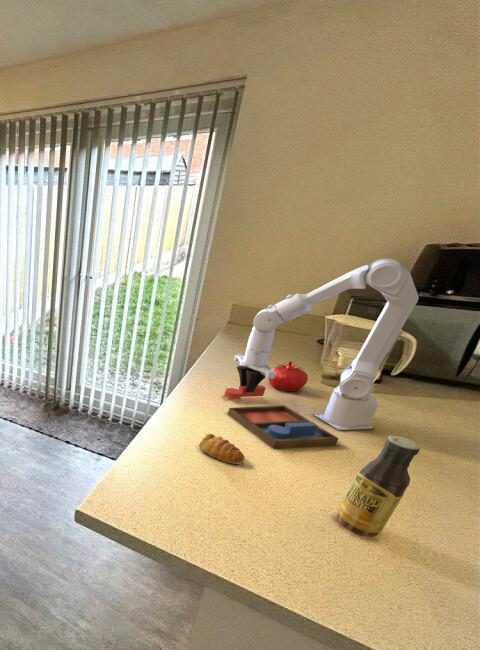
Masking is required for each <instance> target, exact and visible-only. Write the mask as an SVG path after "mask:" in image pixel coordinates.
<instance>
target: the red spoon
mask: <svg viewBox="0 0 480 650" xmlns="http://www.w3.org/2000/svg"><path fill="white" fill-rule="evenodd" d="M266 388H267V387H266V386H264V385H262V384H258V386H257V387H256V388H255V390H254V391H253V392H246V386H240V385H239V386H238V388H234V387H227V388H225V389H224V394H223V395H224V397H226V398H228V399H231V400H240V399H241V398H248V397H249V398H252V397H264V395H265V391H266Z"/></svg>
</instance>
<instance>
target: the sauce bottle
mask: <svg viewBox="0 0 480 650" xmlns="http://www.w3.org/2000/svg"><path fill="white" fill-rule="evenodd" d="M383 443H384V446H383V447H382V449H381V451H380V453H379V454H378V456H377V457H376V458H375V459H373V460H371V461H369V462H368V463H367V464H365V466H363V468H362V469H361V470H359V472H358V473H357V474H356V476H355V479H354V481H353V482H352V484H351V486H350V488H349V490H348V492H347V494H346V496H345V497H344V499H343V502H342V503H341V505H340V507H339V509H338V513H337V516H336V519H337V521H338V523H339V524H340V525H341V527H343V528H344V529H346V530H348V531H349V532H351V533H353V534H355V535H357V536H360V537H367V538H374V537H377V536H378V535H379V534H380V533H381V532H382V531H383V530H384V529H385V527H386V525H387V523H388V522H389V520H390V518H391V517H392V515H393V513H394V512H395V510H396V508H397V507H398V505H399V503H400V502H401V500H402V498H404V495H405V492H406V490H407V489H408V487H409V486H410V483H411V477H410V474H409V470H408V469H409V467H410V466H411V465H410V464H411V462H412V461H413V459H414V457H415V456H417V455H418V454H419V452H420V450H421V445H420V444H419V443H417V442H416V441H414V440H412V439H409V438H407V437H404V436H398V435H389V436H387V438H385V441H384V442H383Z"/></svg>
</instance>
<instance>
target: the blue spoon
mask: <svg viewBox="0 0 480 650" xmlns="http://www.w3.org/2000/svg"><path fill="white" fill-rule="evenodd" d="M318 426H319V425H318V424H316V423H315V422H313V421H311V422H300V423H286V424H285V427H282V426H279V425H270V426H269V428H268V431H267V433H268V434H269V435H270V436H272V437H273V438H276V439H287V438H288V436H308V435H315V432H316V429H317V427H318Z"/></svg>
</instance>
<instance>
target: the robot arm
mask: <svg viewBox="0 0 480 650" xmlns="http://www.w3.org/2000/svg"><path fill="white" fill-rule="evenodd" d="M367 285H369V286H370V287H371V288H373V289H374V290H376V291H377V292H379V293H381V295H382V296H383V298H384V299H385V300H386V303H385V304H384V307H383V309H382V310H381V312H380V314H379V316H378V317H377V320H376V321H375V323H374V325H373V327H372V328H371V330H370V332H369V334H368V336H367V338H366V339H365V342H364V343H363V345H362V346H361V348H360V350H359V352H358V354H357V356H356V357H355V358H354V359H353V360H352V362H351V363H350V365H349V366H347V367H346V368H344V369H343V370H342V371H341V372H340V375H339V379H340V382H339V385H338V386H335V387H334V388H333V391H332V392H331V396H330V399H329V401H328V403H327V406H326V409H325V411H324V413H315V414H314V417H316V418H318V419H319V420H321V421H323V422H324V423H326V424H328V425H330V426H331V427H333V428H334V429H336V430H338V431H350V430H351V431H352V430H353V431H354V430H371V429H373V426H372V425H371V423H372V420H373V418H374V416H375V414H376V412H377V409H378V407H379V404H378V403H379V402H378V400H377V398H376V397H375V396H374V395H373V394H372V393H373V391H374V381H375V378H376V377H377V374H378V371H379V368H380V366H381V364H382V362H383V361H384V359H385V357H386V356H387V354H388V352H389V350H390V349H391V348H392V345H393V344H394V342H395V340H396V339H397V337H398V335H399V334H400V332H401V330H402V328H403V327H404V325H405V324H406V322H407V320H408V318H409V317H410V315H411V313H412V311H413V310H414V309H415V306H416V305H417V303H418V301H419V294H418V291H417V288H416V286H415V283H414V280H413V277H412V274H411V273H410V271H409V270H408V269H407V267H406V266H404V265H403V264H402V263H401V262H400V261H399V260H397V259H395V258H391V257H390V258H389V257H385V258H379V259H377V260H374V261H373V262H372V263H370V264H365V265H363V266H359V267H358V268H355V269H353V270H350V271H349V272H347V273H345V274H343V275H341V276H338V277H337V278H334V279H333V280H331V281H329V282H327V283H326V284H324V285H322V286H320V287H318V288H315V289H314V290H312V291H310V292H308V293H296V294H292V293H290V294H288V295H286V296H285V297H286V298H285V299H283V300H280V301H279V302H277V303H275V304H274V305H273V304H270V305H267V308H264V309H261V310H260V311H259V312H258V313H257V314H256V315H255V316H254V318H253V320H252V324H253V327H252V329H251V332H250V334H249V337H248V341H247V345H246V349H245V353H244V355H243V354H242V353H241V354H234V356H233V357H234V358H233V361H235V362H239V365H237V366H236V370H237V372H238V376H239V386H246V392H253V391H254V390H255V388H256V387H257V386H258V385H260V383H261V382H262V381H263V380H264V379H268V380H269V378H274V377H275V374H276V372H274V371H273V370H272V369H273V368H271V367H270V366H269V365H268V364H267V363H268V360H269V355H270V353H271V349H272V346H273V343H274V340H275V331H276V328H278V326H279V324H285V323H287V322H289V321H291V320H294V319H296V318H298V317H300V316H303V315H305V314H307V313H310V312H311V311H312V308H313V305H316V304H317V303H319V302H322V301H324V300H326V299H329V298H331V297H333V296H335V295H338V294H340V293H343V292H346V291H347V290H350V289H352V290H354V289H355V290H357V289H359V290H361V289H362V290H365V289H367Z"/></svg>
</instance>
